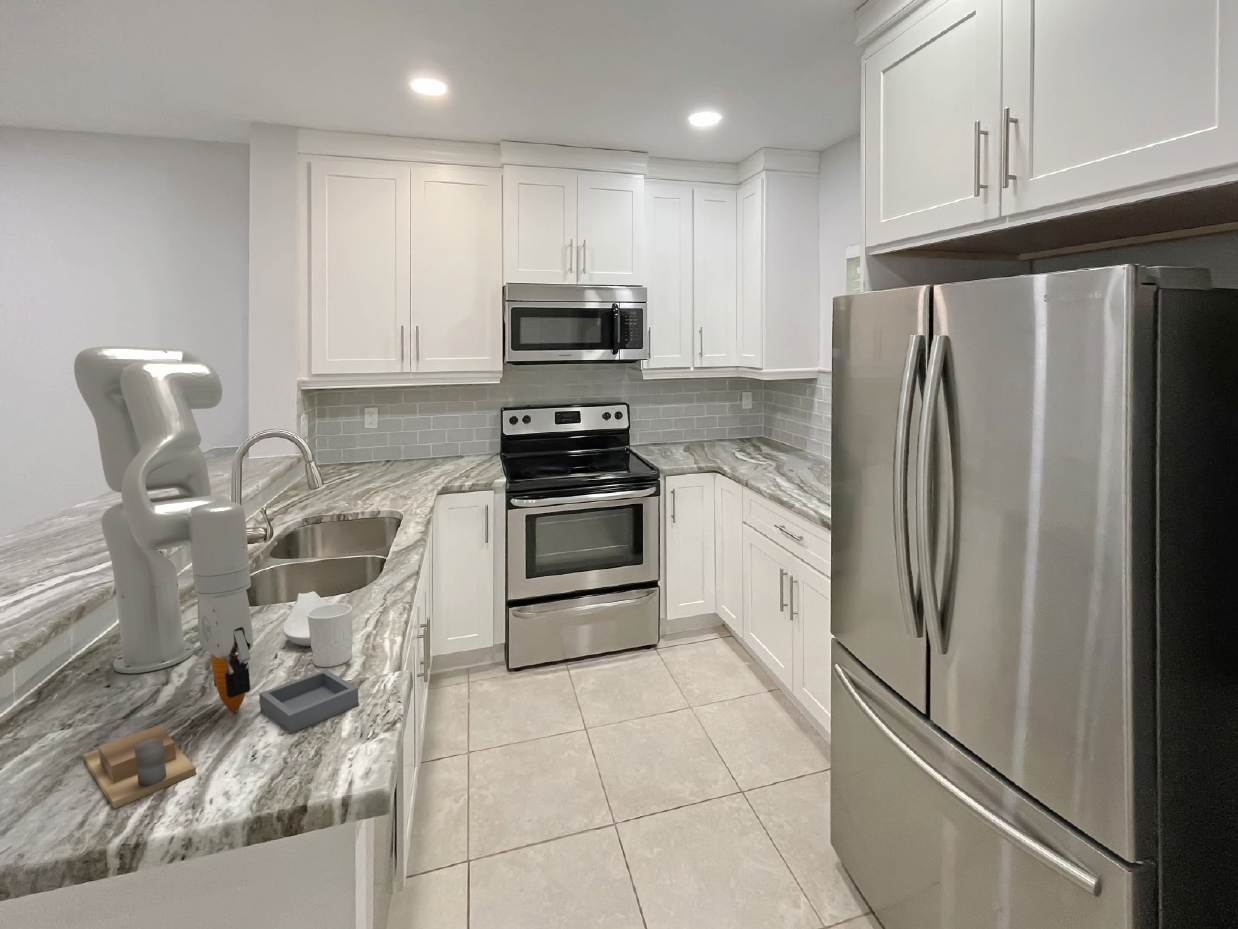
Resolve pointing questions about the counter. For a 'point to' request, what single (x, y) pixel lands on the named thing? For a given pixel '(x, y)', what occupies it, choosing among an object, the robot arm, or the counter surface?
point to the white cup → (330, 634)
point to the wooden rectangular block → (131, 753)
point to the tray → (308, 700)
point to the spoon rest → (301, 618)
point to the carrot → (220, 681)
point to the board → (130, 783)
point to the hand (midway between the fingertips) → (232, 687)
